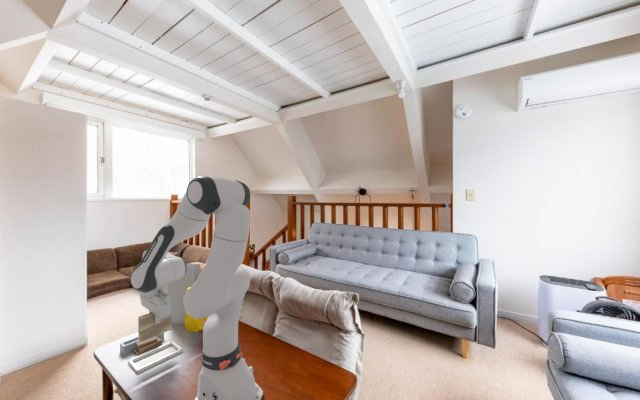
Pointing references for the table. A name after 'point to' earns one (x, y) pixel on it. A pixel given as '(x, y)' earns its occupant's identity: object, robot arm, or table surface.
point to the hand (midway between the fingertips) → (155, 321)
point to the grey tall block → (181, 292)
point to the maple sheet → (152, 326)
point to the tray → (137, 370)
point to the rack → (129, 345)
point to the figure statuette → (193, 322)
